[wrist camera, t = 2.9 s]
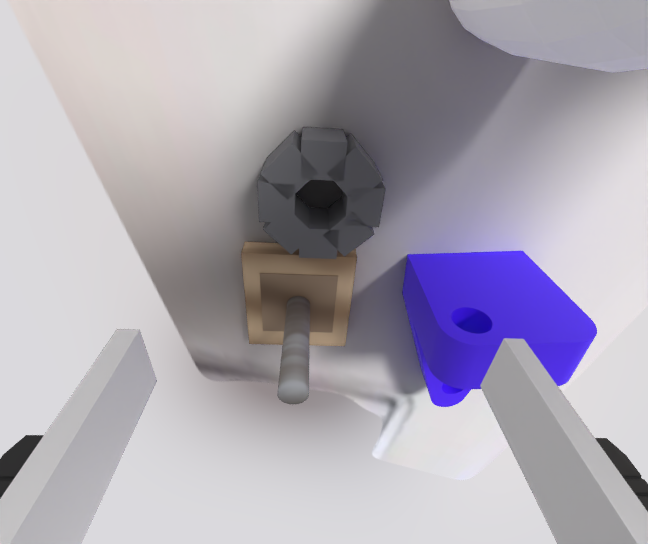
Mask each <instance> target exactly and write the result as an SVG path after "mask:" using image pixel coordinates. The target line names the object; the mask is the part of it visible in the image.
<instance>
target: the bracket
mask: <svg viewBox="0 0 648 544" xmlns="http://www.w3.org/2000/svg"><path fill="white" fill-rule="evenodd" d="M402 293H403V298H404V302H405V306H406V310H407V314H408V318H409V322H410V326H411V330H412V334H413V338H414V342H415V346H416V350H417V354H418V358H419V362H420V366H421V370H422V373H423V376H424V379H425V382H426V385H427V388H428V391H429V394H430V398H431V401H432V402H433V404H435V405H437V406H441V407H448V406H453V405H455V404H458V403H459V402H461V401H462V400H463V399H464V398H465V396H466V395H467V394H468V393H469V391H470V390H471V389H481V387H480V385H481V383H482V381H483V379H484V377H485V375H486V373H487V371H488V369H489V367H490V365H491V363H492V361H493V359H494V357H495V355H496V353H497V351H498V349H499V347H500V345H501V343H502V341H503V339H504V338H510V339H524V340H525V341H526V343H527V344H528V346H529V347H530V348H531V350H532V351H533V353H534V354H535V355H536V357H537V358H538V359H539V361H540V362H541V364H542V365H543V366H544V368H545V369H546V371H547V372H548V373H549V375H550V376H551V378H552V379H553V380H554V382H555V383H556V385H557V386H560V385H563V384H565V383H567V382H568V381H569V379H570V378H571V376H572V374H573V373H574V371H575V369H576V368H577V366H578V364H579V363H580V361H581V359H582V358H583V356H584V354H585V353H586V351H587V349H588V348H589V346H590V344H591V343H592V341H593V339H594V338H595V336H596V334H597V328H596V326H595V324H594V322H593V321H592V320H591V319H590V318H589V317H588V316H587V315H586V314H585V313H584V312H583V311H582V310H581V309H580V308H579V307H578V306H577V305H576V304H575V303H574V302H573V301H572V300H571V299H570V298H569V297H568V296H567V295H566V294H565V293H564V292H563V291H562V290H561V289H560V288H559V287H558V286H557V285H556V284H555V283H554V282H553V281H552V280H551V279H550V278H549V277H548V276H547V275H546V274H545V273H544V272H543V271H542V270H541V269H540V268H539V267H538V266H537V265H536V264H535V263H534V262H533V261H532V260H531V259H530V258H529V257H528V256H527V255H526V254H525V253H524V252H523V251H502V252H471V253H440V254H408V255H407V263H406V270H405V277H404V284H403V292H402Z"/></svg>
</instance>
